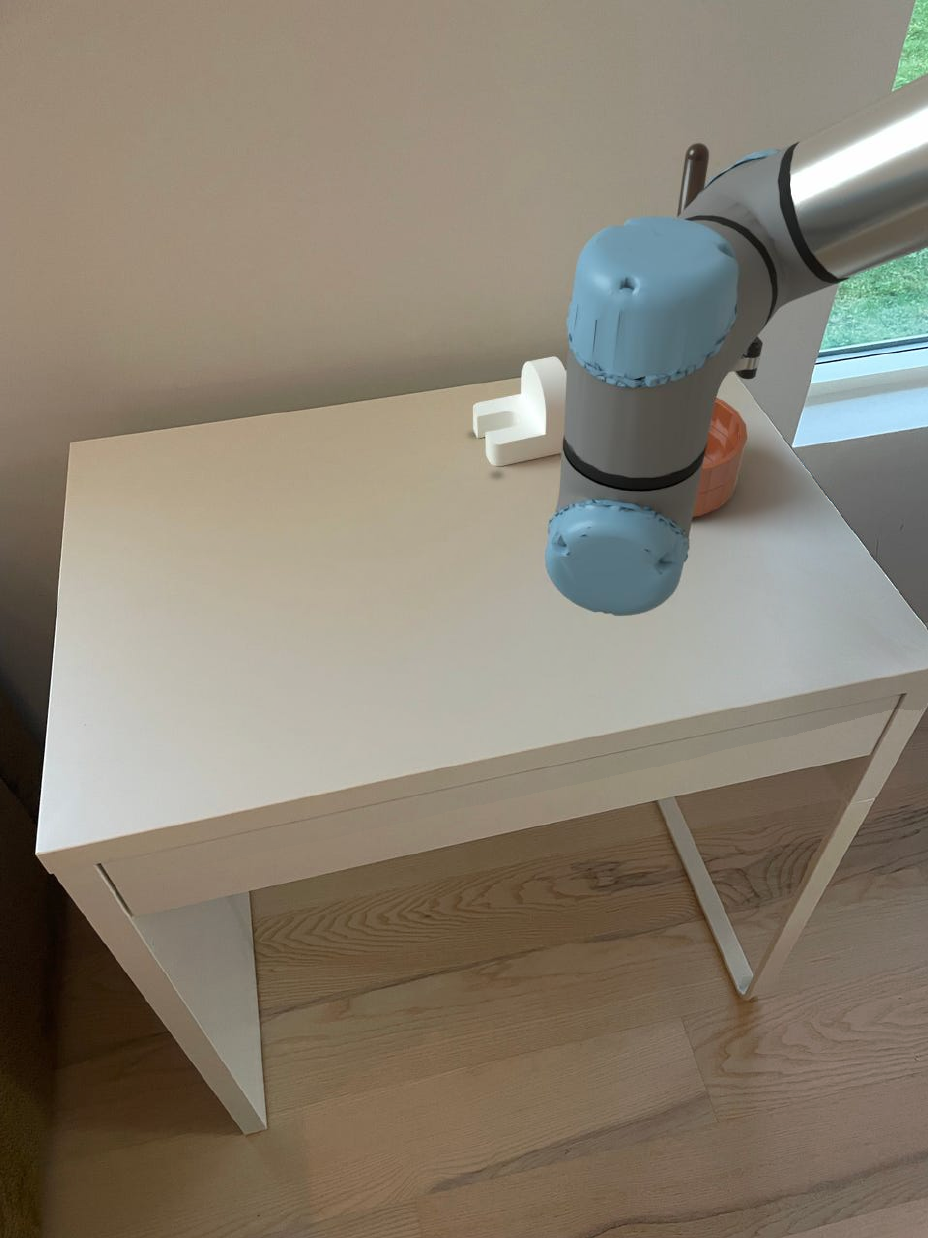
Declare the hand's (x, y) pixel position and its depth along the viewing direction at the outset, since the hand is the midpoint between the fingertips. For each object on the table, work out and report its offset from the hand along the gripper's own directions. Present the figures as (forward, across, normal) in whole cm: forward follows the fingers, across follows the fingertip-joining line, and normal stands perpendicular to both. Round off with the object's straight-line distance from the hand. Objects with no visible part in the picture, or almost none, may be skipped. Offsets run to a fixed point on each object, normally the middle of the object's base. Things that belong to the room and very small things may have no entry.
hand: (688, 237), depth 76 cm
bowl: (-3, +2, -22) cm, 22 cm away
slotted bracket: (+1, -11, -22) cm, 24 cm away
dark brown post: (-6, 0, -10) cm, 11 cm away
